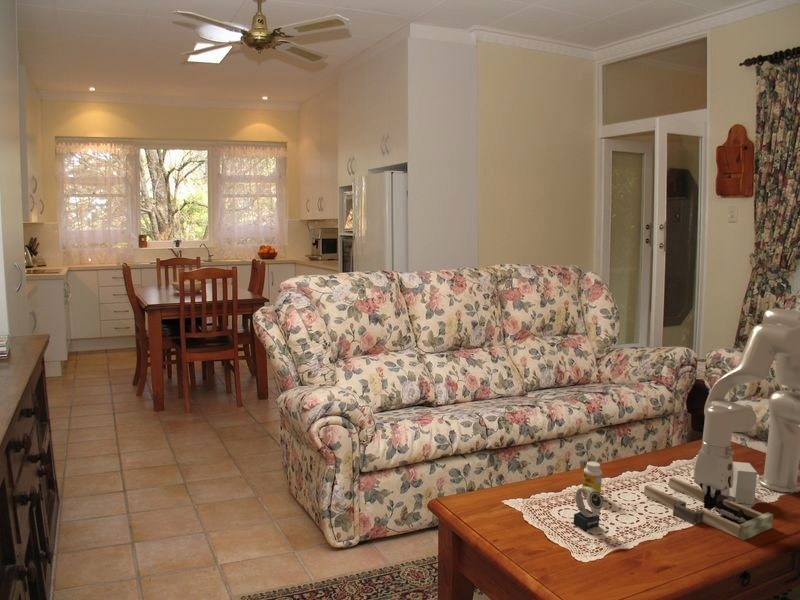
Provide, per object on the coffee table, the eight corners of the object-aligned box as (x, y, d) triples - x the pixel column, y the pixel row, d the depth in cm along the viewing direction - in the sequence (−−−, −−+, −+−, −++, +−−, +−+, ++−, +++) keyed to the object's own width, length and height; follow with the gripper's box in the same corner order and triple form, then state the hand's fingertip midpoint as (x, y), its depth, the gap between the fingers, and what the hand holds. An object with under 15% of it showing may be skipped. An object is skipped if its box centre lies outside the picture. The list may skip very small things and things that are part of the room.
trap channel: (677, 483, 228) (679, 472, 227) (778, 524, 201) (779, 511, 200) (636, 498, 216) (637, 486, 215) (737, 543, 189) (738, 529, 189)
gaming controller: (717, 519, 208) (708, 507, 205) (724, 506, 210) (715, 495, 206) (751, 534, 199) (742, 522, 196) (759, 521, 200) (750, 509, 197)
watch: (590, 533, 193) (592, 496, 191) (568, 521, 199) (571, 485, 198) (604, 529, 195) (607, 492, 194) (583, 517, 202) (585, 481, 200)
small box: (754, 505, 214) (757, 472, 212) (734, 503, 215) (738, 470, 213) (746, 494, 221) (750, 462, 220) (727, 492, 222) (731, 460, 221)
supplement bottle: (578, 492, 219) (580, 461, 217) (592, 490, 221) (594, 459, 219) (589, 499, 214) (591, 468, 212) (604, 497, 216) (606, 465, 214)
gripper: (747, 454, 200) (740, 515, 203) (700, 438, 212) (694, 495, 215) (732, 459, 196) (725, 521, 199) (685, 442, 208) (679, 500, 211)
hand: (709, 507), depth 207 cm, fingers closed
